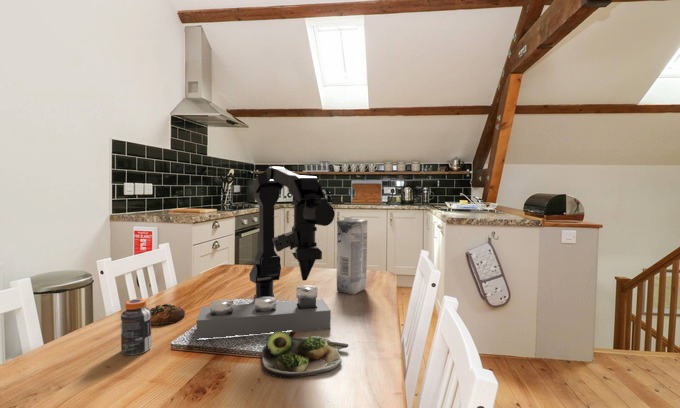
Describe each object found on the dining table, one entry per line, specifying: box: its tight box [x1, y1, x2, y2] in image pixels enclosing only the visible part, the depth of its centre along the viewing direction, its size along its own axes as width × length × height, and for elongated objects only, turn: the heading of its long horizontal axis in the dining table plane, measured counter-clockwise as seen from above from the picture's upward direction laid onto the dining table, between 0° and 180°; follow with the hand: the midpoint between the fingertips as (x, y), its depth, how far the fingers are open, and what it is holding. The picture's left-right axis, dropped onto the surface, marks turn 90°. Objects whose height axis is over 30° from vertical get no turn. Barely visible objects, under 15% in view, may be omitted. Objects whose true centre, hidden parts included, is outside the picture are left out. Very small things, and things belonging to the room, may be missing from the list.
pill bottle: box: [120, 298, 152, 356], centre depth 82 cm, size 6×6×11 cm
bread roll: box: [150, 303, 186, 326], centre depth 101 cm, size 11×11×5 cm
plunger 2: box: [296, 284, 318, 309], centre depth 99 cm, size 6×6×7 cm
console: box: [196, 298, 332, 340], centre depth 96 cm, size 10×33×5 cm, turn 105°
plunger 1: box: [209, 298, 234, 316], centre depth 93 cm, size 6×6×7 cm
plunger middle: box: [254, 296, 277, 313], centre depth 96 cm, size 6×6×7 cm
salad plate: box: [261, 331, 349, 379], centre depth 80 cm, size 19×18×5 cm
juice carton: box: [336, 215, 368, 295], centre depth 131 cm, size 9×10×27 cm
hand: (304, 280), depth 98 cm, fingers closed
